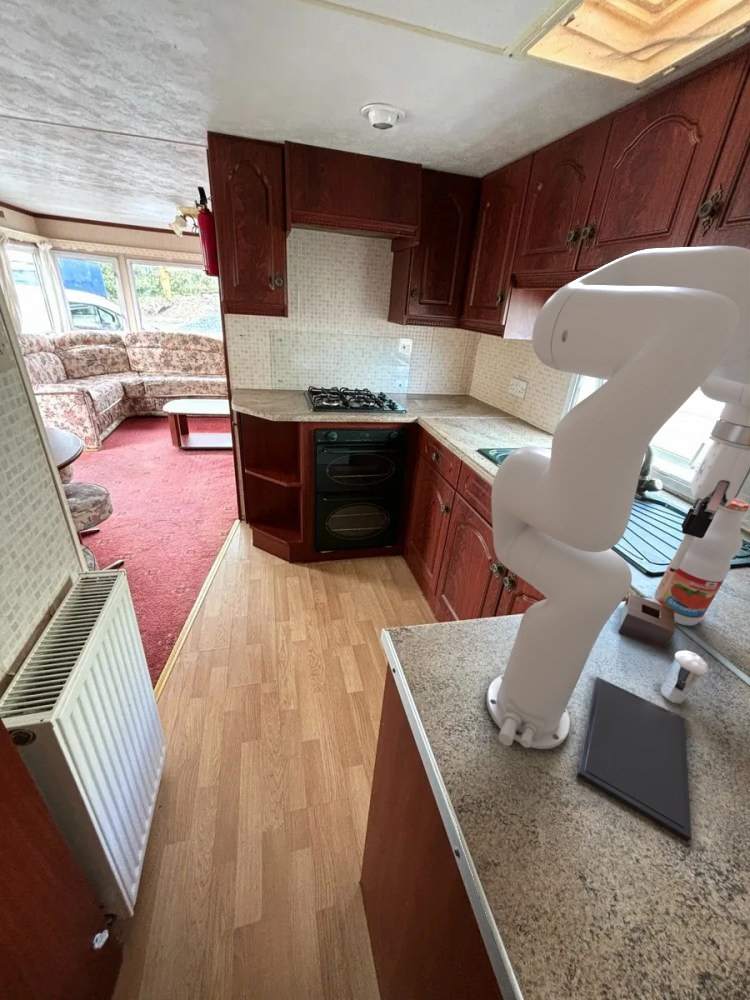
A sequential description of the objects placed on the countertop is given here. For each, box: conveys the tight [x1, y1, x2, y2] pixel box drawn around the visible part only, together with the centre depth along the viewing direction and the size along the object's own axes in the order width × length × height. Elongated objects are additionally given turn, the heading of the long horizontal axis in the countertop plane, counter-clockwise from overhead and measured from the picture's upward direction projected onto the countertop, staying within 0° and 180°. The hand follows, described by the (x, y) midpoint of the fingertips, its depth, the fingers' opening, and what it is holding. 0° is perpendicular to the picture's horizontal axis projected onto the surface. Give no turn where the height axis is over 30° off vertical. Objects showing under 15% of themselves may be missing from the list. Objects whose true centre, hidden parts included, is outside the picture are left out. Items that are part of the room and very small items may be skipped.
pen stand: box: [618, 593, 676, 652], centre depth 83 cm, size 8×8×5 cm
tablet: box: [576, 676, 692, 843], centre depth 60 cm, size 20×13×1 cm, turn 147°
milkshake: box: [660, 649, 717, 704], centre depth 67 cm, size 4×5×10 cm
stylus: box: [669, 504, 704, 572], centre depth 74 cm, size 1×1×14 cm
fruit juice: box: [651, 497, 750, 626], centre depth 85 cm, size 9×9×28 cm
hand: (691, 532), depth 73 cm, fingers closed on stylus, 1 cm apart
